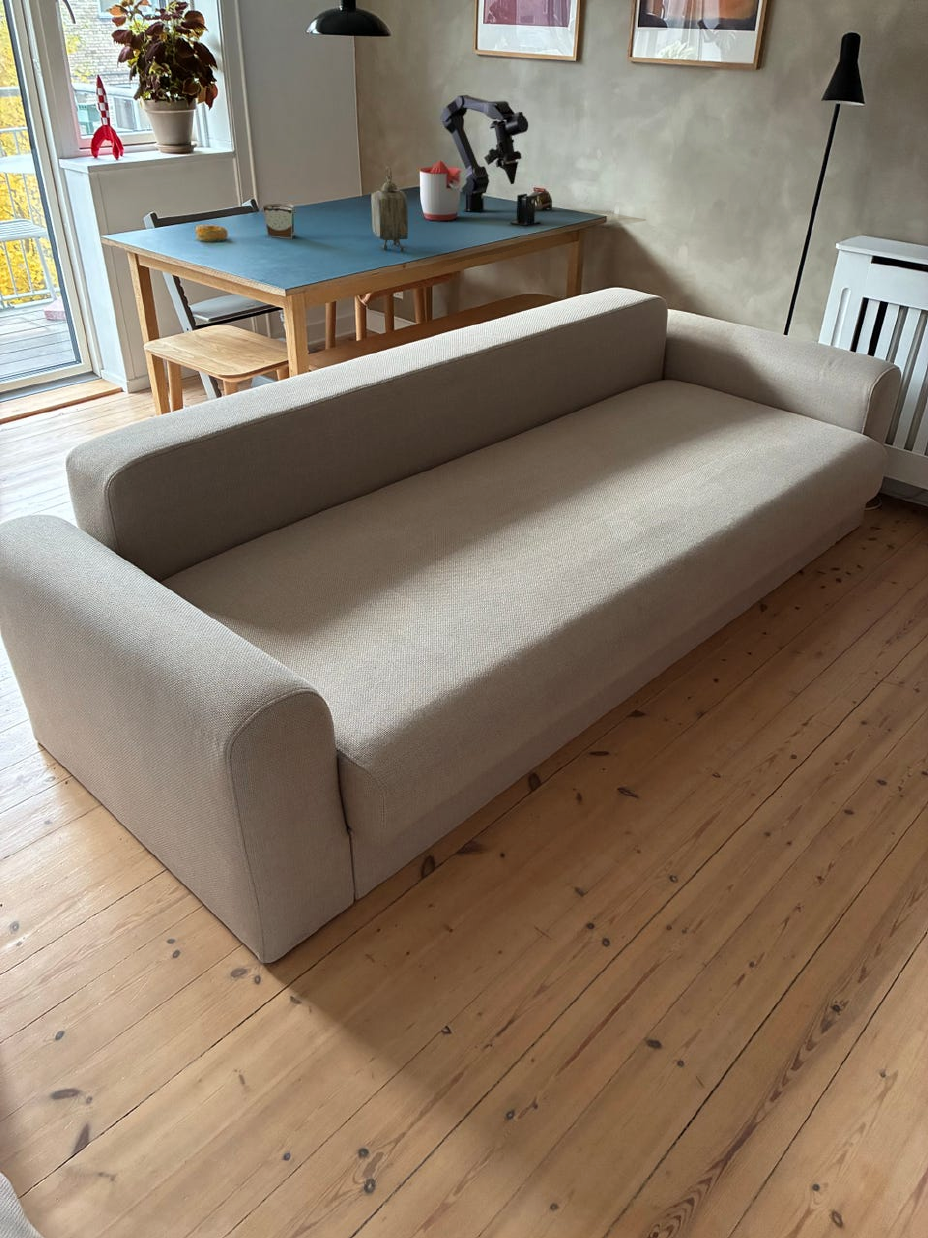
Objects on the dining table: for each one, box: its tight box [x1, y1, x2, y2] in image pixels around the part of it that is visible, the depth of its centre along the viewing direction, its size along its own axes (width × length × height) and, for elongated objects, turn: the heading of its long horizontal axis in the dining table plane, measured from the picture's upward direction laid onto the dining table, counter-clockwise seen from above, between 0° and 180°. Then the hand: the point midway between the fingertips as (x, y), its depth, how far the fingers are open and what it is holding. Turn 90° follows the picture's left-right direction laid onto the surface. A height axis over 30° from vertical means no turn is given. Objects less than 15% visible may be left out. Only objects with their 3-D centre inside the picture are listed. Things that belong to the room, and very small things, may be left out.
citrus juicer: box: [418, 160, 462, 222], centre depth 355 cm, size 16×17×20 cm
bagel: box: [195, 224, 229, 243], centre depth 326 cm, size 10×11×5 cm
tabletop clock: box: [370, 166, 409, 253], centre depth 309 cm, size 14×9×25 cm, turn 17°
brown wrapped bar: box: [521, 186, 547, 206], centre depth 348 cm, size 10×5×2 cm, turn 137°
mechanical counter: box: [535, 190, 553, 211], centre depth 373 cm, size 7×13×10 cm
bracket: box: [509, 193, 541, 228], centre depth 348 cm, size 9×7×10 cm
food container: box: [261, 203, 296, 239], centre depth 330 cm, size 12×6×10 cm, turn 71°
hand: (512, 183), depth 357 cm, fingers closed
